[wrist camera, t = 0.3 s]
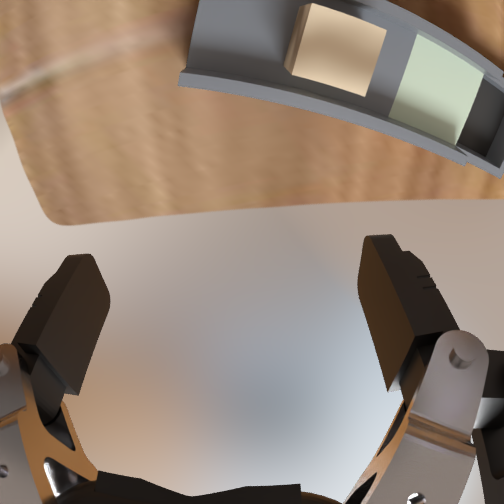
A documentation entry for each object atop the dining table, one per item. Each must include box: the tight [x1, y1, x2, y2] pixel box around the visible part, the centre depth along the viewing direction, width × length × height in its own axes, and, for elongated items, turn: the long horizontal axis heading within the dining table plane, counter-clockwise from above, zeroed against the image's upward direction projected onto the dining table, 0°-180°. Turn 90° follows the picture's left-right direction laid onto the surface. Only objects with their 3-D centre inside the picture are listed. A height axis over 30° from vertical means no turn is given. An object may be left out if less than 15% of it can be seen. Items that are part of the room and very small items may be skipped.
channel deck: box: [178, 0, 504, 179], centre depth 21 cm, size 10×33×6 cm, turn 77°
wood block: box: [283, 3, 387, 97], centre depth 18 cm, size 5×5×4 cm
